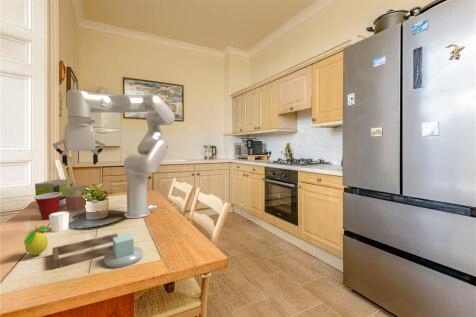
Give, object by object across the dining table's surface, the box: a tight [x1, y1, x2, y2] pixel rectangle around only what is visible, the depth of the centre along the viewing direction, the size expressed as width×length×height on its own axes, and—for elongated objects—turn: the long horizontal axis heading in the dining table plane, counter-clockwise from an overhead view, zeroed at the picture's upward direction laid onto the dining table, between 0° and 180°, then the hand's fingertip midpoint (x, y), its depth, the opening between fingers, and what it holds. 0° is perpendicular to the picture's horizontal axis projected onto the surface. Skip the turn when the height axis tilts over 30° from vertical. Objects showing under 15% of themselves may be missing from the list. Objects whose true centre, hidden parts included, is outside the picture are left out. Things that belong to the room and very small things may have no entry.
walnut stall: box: [52, 233, 118, 270], centre depth 77 cm, size 19×11×2 cm, turn 131°
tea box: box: [34, 178, 71, 210], centre depth 136 cm, size 15×10×15 cm
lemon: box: [23, 225, 49, 256], centre depth 75 cm, size 7×6×10 cm
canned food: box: [65, 185, 90, 212], centre depth 131 cm, size 11×11×12 cm
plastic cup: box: [33, 192, 62, 221], centre depth 112 cm, size 11×11×12 cm
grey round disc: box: [103, 246, 143, 269], centre depth 73 cm, size 11×11×2 cm
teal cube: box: [112, 233, 135, 259], centre depth 73 cm, size 5×5×5 cm
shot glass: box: [49, 211, 70, 233], centre depth 98 cm, size 7×7×7 cm
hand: (80, 164), depth 92 cm, fingers open, 9 cm apart
